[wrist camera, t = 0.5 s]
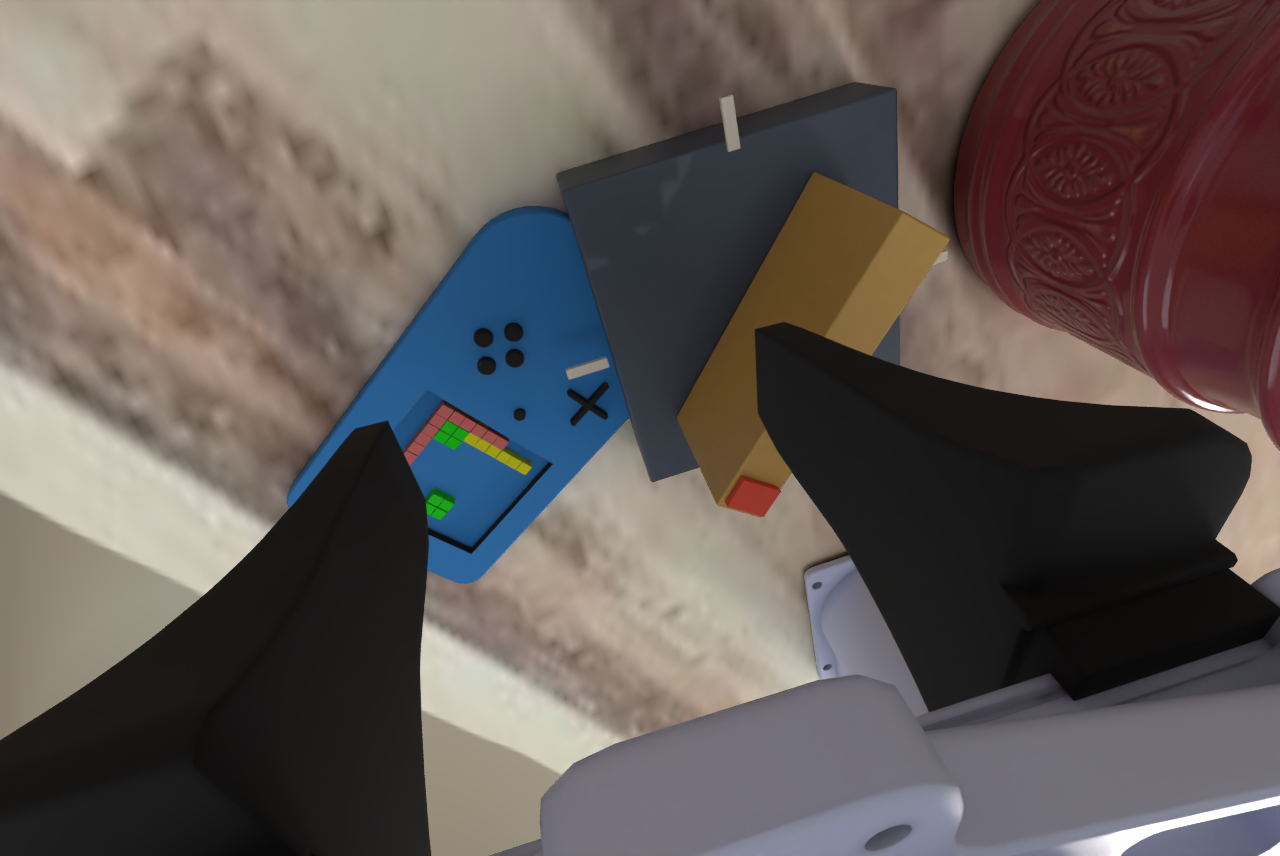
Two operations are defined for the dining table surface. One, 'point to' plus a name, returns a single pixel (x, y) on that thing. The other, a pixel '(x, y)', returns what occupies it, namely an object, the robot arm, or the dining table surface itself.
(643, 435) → the frame stand
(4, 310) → the dining table surface
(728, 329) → the tan rectangular block
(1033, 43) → the kitchen canister
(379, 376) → the handheld gaming device
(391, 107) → the dining table surface
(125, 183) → the dining table surface
